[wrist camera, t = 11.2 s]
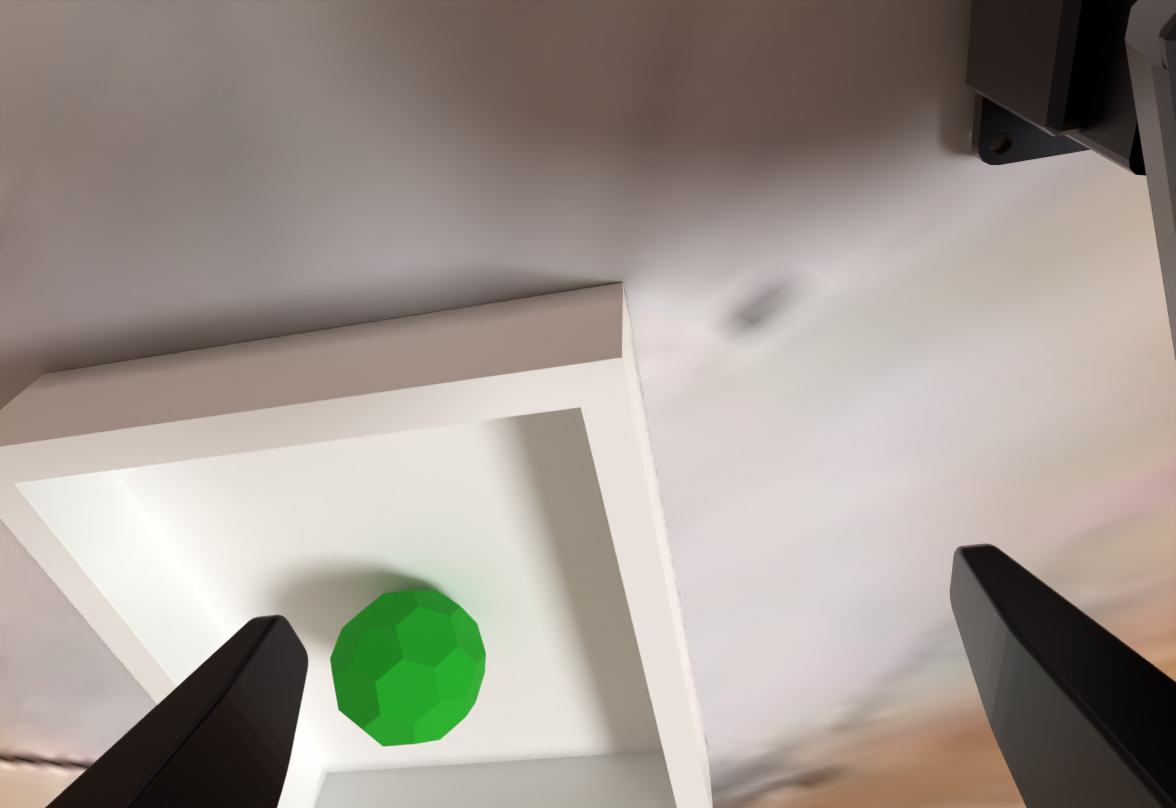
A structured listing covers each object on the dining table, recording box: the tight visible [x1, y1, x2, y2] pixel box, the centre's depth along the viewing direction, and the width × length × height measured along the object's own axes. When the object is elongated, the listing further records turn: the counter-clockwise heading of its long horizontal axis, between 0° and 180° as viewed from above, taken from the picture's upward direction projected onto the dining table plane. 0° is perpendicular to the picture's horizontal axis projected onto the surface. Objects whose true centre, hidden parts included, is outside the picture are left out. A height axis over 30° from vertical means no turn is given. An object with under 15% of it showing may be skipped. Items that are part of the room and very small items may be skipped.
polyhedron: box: [330, 590, 486, 747], centre depth 25 cm, size 5×5×5 cm
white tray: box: [0, 282, 713, 808], centre depth 26 cm, size 18×22×4 cm
